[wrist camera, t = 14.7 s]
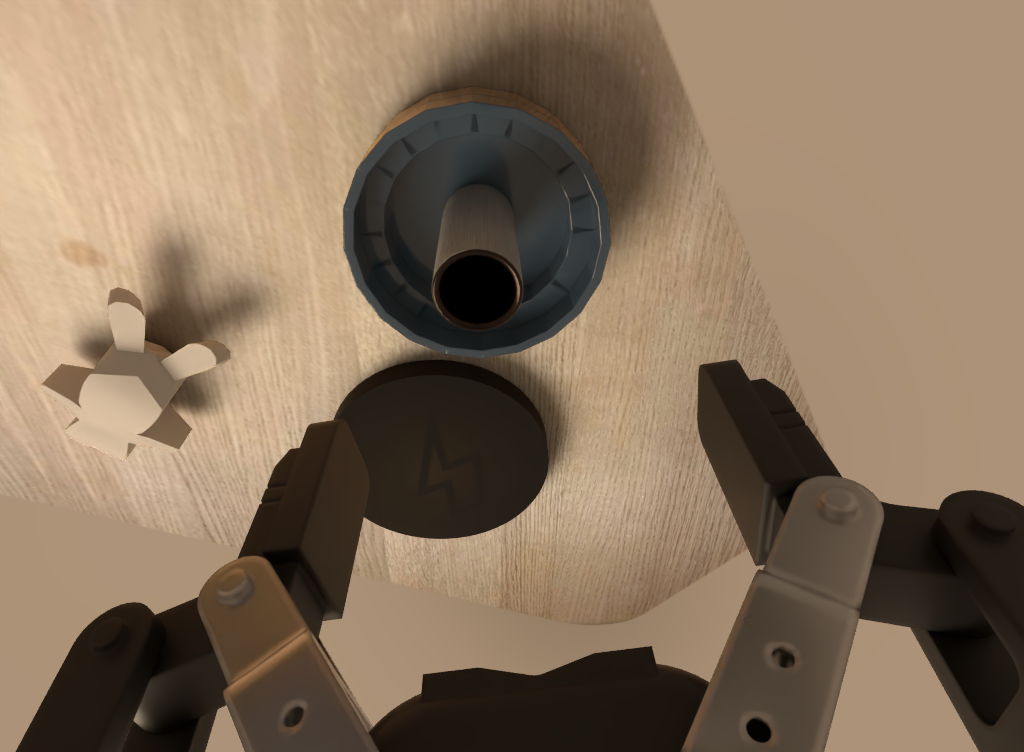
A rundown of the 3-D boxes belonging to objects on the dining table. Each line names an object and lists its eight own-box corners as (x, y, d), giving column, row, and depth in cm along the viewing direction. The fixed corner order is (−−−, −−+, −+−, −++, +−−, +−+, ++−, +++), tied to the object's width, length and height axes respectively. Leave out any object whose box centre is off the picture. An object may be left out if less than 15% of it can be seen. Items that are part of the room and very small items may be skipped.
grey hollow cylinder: (430, 200, 37) (414, 270, 28) (497, 170, 36) (502, 234, 27) (461, 262, 39) (455, 344, 31) (524, 236, 38) (536, 313, 30)
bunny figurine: (11, 434, 41) (72, 301, 34) (57, 387, 45) (120, 257, 38) (146, 494, 45) (228, 386, 38) (178, 445, 49) (257, 338, 42)
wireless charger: (457, 318, 42) (456, 332, 41) (586, 462, 51) (589, 479, 49) (283, 434, 48) (277, 450, 46) (427, 547, 56) (425, 564, 55)
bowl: (323, 112, 34) (302, 132, 30) (584, 63, 33) (599, 77, 29) (395, 334, 43) (386, 373, 39) (604, 300, 42) (617, 336, 38)
